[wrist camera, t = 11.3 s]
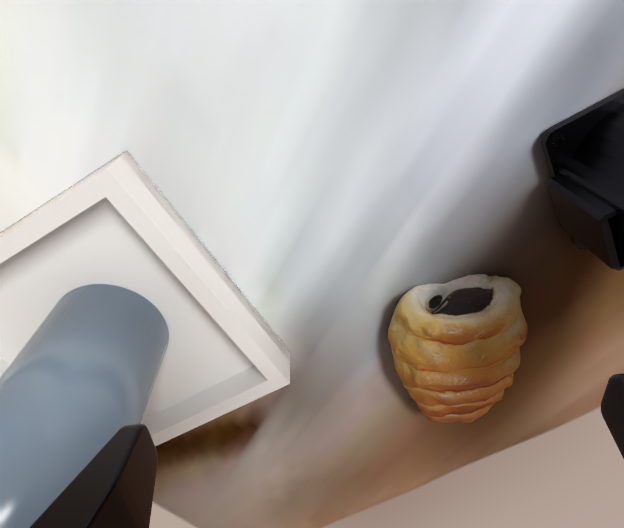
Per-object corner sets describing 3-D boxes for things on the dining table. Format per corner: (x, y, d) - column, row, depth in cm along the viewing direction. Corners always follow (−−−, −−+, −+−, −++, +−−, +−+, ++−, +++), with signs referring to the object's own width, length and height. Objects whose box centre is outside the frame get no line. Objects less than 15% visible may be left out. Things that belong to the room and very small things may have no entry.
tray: (126, 150, 19) (106, 169, 17) (289, 351, 25) (290, 383, 23) (-85, 288, 22) (-124, 319, 20) (107, 439, 28) (93, 475, 26)
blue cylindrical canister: (116, 259, 20) (-124, 622, 9) (197, 346, 23) (99, 712, 11) (20, 314, 22) (-305, 695, 10) (107, 390, 25) (-65, 760, 13)
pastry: (503, 391, 28) (532, 444, 24) (393, 408, 28) (407, 463, 25) (511, 260, 23) (549, 305, 20) (379, 282, 23) (394, 330, 20)
